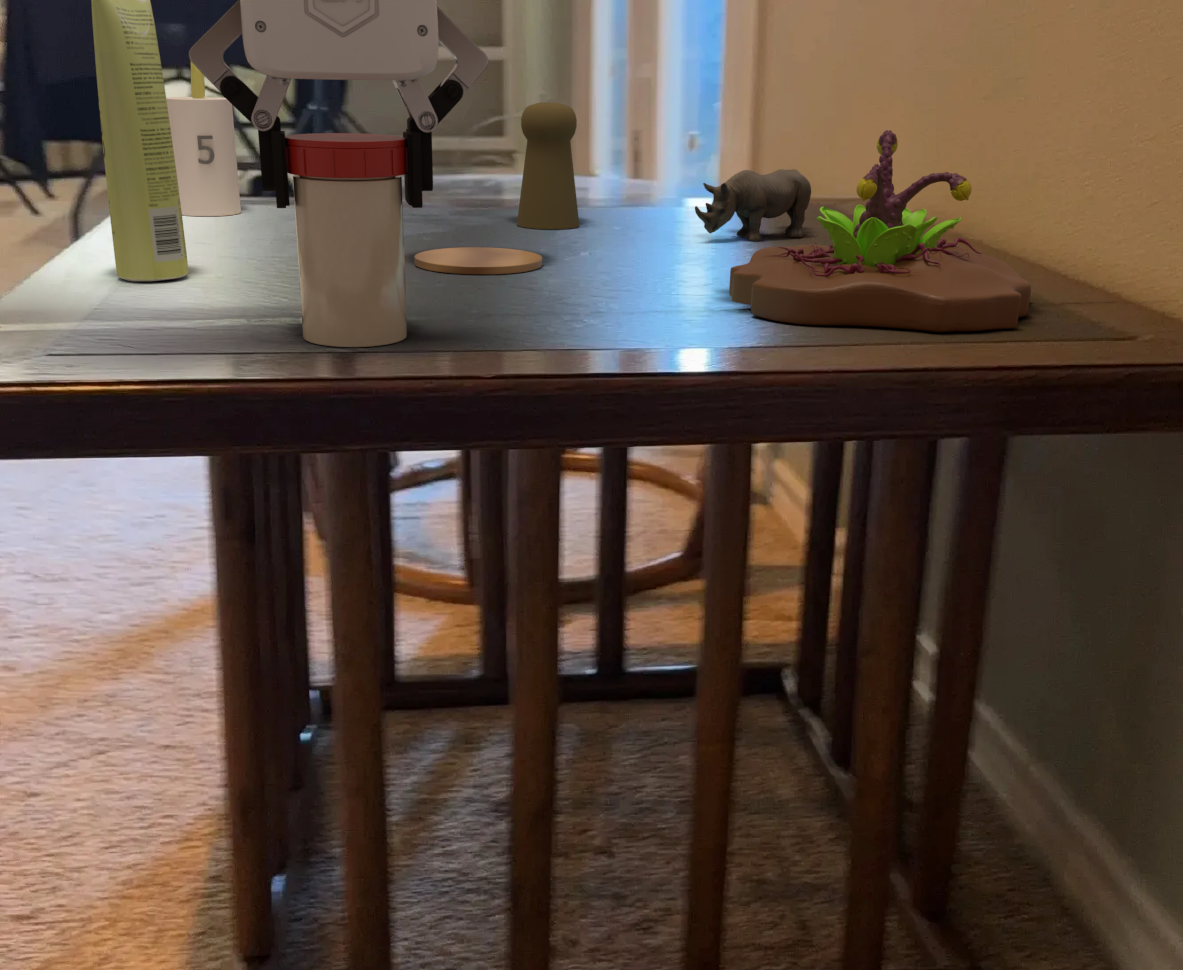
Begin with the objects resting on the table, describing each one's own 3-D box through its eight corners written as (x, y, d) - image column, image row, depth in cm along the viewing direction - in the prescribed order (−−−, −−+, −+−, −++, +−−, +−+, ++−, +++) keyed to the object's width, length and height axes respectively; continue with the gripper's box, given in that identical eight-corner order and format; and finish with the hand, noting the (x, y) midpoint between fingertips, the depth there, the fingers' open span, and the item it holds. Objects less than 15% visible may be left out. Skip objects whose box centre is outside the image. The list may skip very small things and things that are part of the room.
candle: (177, 217, 123) (160, 46, 117) (172, 209, 129) (155, 46, 123) (245, 215, 125) (231, 48, 119) (237, 207, 131) (223, 47, 125)
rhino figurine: (677, 239, 116) (680, 170, 114) (790, 231, 124) (795, 165, 121) (705, 245, 113) (709, 174, 111) (820, 236, 121) (826, 169, 118)
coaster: (421, 275, 96) (421, 267, 95) (408, 255, 105) (408, 247, 104) (553, 273, 98) (553, 265, 98) (530, 253, 107) (530, 246, 106)
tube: (106, 273, 93) (68, -25, 86) (176, 268, 96) (145, -22, 88) (127, 285, 89) (90, -28, 81) (200, 280, 92) (170, -24, 84)
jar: (304, 348, 72) (291, 149, 68) (302, 327, 78) (290, 141, 73) (411, 346, 74) (405, 150, 69) (402, 325, 79) (395, 142, 75)
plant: (1011, 287, 96) (1034, 128, 92) (1039, 340, 79) (1070, 146, 74) (744, 273, 100) (754, 119, 96) (714, 320, 82) (725, 134, 78)
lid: (286, 177, 68) (284, 141, 68) (285, 166, 74) (283, 132, 74) (413, 178, 70) (411, 142, 69) (402, 167, 76) (401, 133, 75)
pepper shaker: (559, 230, 120) (560, 104, 116) (504, 225, 123) (504, 102, 118) (590, 224, 125) (593, 103, 121) (537, 219, 128) (538, 100, 123)
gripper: (145, -180, 60) (185, 214, 67) (510, -160, 64) (511, 212, 71) (158, -159, 67) (193, 198, 74) (488, -141, 71) (491, 197, 78)
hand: (349, 202), depth 73 cm, fingers closed on lid, 6 cm apart
